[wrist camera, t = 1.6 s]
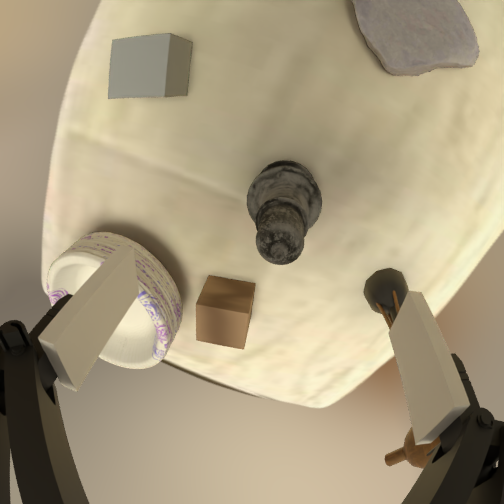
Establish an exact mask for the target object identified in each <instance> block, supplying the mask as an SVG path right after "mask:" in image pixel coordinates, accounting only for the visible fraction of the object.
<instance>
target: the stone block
mask: <svg viewBox="0 0 504 504" xmlns="http://www.w3.org/2000/svg"><path fill="white" fill-rule="evenodd" d="M352 3H353V5H354V8H355V13H356V18H357V21H358V24H359V28H360V30H361V32H362V34H363V35H364V37H365V40H366V42H367V45H368V47H369V48H370V49H371V50H372V51H373V53H374V54H375V55H376V56H377V57H378V59H379V60H380V62H381V64H382V65H383V67H384V68H385V70H386V71H387V72H389V73H391V74H392V75H397V76H402V75H408V76H419V75H420V74H423V73H425V72H430V71H431V70H434V69H436V68H446V67H453V68H455V67H458V68H465V67H472V66H473V65H474V64H475V61H476V60H477V58H478V56H479V46H478V43H477V37H476V34H475V32H474V29H473V27H472V25H471V23H470V21H469V18H468V17H467V15H466V13H465V11H464V9H463V8H462V6H461V5H460V4H459V2H458V1H457V0H352Z"/></svg>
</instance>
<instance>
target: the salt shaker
mask: <svg viewBox="0 0 504 504" xmlns="http://www.w3.org/2000/svg"><path fill="white" fill-rule="evenodd" d="M247 207H248V211H249V214H250V216H251V218H252V220H253V221H254V222H255V225H256V229H257V231H258V232H257V235H256V245H257V249H258V251H259V253H260V255H261V256H262V257H263V258H264V259H265V260H267V261H268V262H270V263H273V264H277V265H285V264H289V263H292V262H293V261H295V260H296V259H297V258H298V257H299V256H300V255H301V252H302V250H303V248H304V237H305V236H306V234H307V231H308V229H309V228H311V227H312V226H313V225H314V223H315V222H316V221H317V219H318V217H319V215H320V213H321V207H322V198H321V192H320V190H319V188H318V186H317V184H316V182H315V181H314V179H313V177H312V175H311V174H310V172H309V171H308V170H307V169H306V168H305V167H303V166H302V165H300V164H298V163H296V162H293V161H278V162H275V163H272V164H270V165H268V166H267V167H266V168H265V169H264V170H263V171H262V172H261V174H260V175H259V176H258V177H256V178H255V180H254V181H253V183H252V184H251V186H250V188H249V191H248V194H247Z"/></svg>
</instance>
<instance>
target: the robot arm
mask: <svg viewBox="0 0 504 504" xmlns="http://www.w3.org/2000/svg"><path fill="white" fill-rule="evenodd" d="M138 295H139V288H138V280H137V272H136V262H135V252H134V247H128V246H123V245H120V246H119V247H118V248H117V249H116V250H115V251H114V252H113V253H112V254H111V255H110V256H109V257H108V258H107V259H106V260H105V261H104V263H103V264H102V265H101V266H100V267H99V268H98V269H97V270H96V271H95V272H94V273H93V274H92V275H91V276H90V277H89V279H88V280H87V281H86V282H85V283H84V284H83V285H82V286H81V287H80V288H79V290H78V291H77V292H76V293H75V294H74V295H71V294H67V295H65V296H64V297H62V298H60V299H59V300H58V301H57V302H56V303H55V304H54V305H53V306H52V309H50V310H49V311H48V312H47V314H46V315H45V316H44V317H43V318H42V319H41V320H40V322H39V323H38V324H37V325H36V326H35V327H34V328H33V330H32V331H31V332H30V333H29V334H28V332H27V330H26V328H25V325H24V324H23V323H22V322H21V321H18V320H11V321H8V322H6V323H4V324H3V325H2V326H0V504H10V448H11V454H12V460H13V465H14V470H15V475H16V479H17V484H18V488H19V492H20V495H21V499H22V503H23V504H89V502H88V499H87V497H86V494H85V492H84V489H83V486H82V484H81V481H80V478H79V475H78V472H77V469H76V466H75V463H74V460H73V457H72V454H71V450H70V447H69V443H68V440H67V436H66V432H65V428H64V424H63V420H62V415H61V411H60V406H59V401H58V396H57V391H56V387H55V384H54V381H55V380H56V378H57V377H58V379H59V381H60V382H61V384H62V386H65V387H67V388H69V389H71V390H74V391H76V392H78V390H79V388H80V386H81V385H82V383H83V381H84V380H85V378H86V376H87V375H88V373H89V371H90V370H91V368H92V366H93V365H94V363H95V361H96V360H97V358H98V356H99V355H100V353H101V352H102V350H103V348H104V347H105V345H106V344H107V342H108V340H109V339H110V337H111V336H112V334H113V333H114V331H115V330H116V328H117V326H118V325H119V323H120V322H121V320H122V319H123V317H124V316H125V314H126V313H127V311H128V310H129V308H130V307H131V305H132V304H133V302H134V301H135V299H136V298H137V296H138ZM389 337H390V340H391V343H392V347H393V350H394V354H395V357H396V361H397V365H398V368H399V372H400V376H401V380H402V384H403V388H404V392H405V396H406V400H407V405H408V410H409V414H410V419H411V424H412V429H413V434H414V439H415V445H419V444H428V443H431V442H433V441H434V440H435V439H436V438H437V437H438V436H439V438H440V443H439V444H438V445H436V446H435V447H434V448H433V449H432V450H431V451H429V452H428V453H427V456H429V455H430V454H431V453H432V455H431V457H430V459H429V461H428V462H427V464H426V466H425V468H424V470H423V471H422V473H421V474H420V476H419V478H418V480H417V481H416V483H415V484H414V486H413V487H412V489H411V491H410V492H409V493H408V495H407V496H406V498H405V499H404V501H403V502H402V504H504V422H502V421H497V420H494V417H493V415H492V414H491V412H489V411H488V410H487V409H485V408H480V406H479V403H478V401H477V398H476V395H475V392H474V390H473V387H472V385H471V382H470V381H469V377H468V375H467V373H466V370H465V367H464V365H463V363H462V361H461V360H460V359H459V358H458V357H457V355H456V354H450V351H449V349H448V347H447V345H446V342H445V340H444V338H443V336H442V333H441V331H440V329H439V327H438V325H437V323H436V321H435V318H434V316H433V314H432V312H431V310H430V308H429V306H428V304H427V302H426V300H425V298H424V296H423V294H422V292H414V291H408V293H407V295H406V298H405V300H404V302H403V304H402V306H401V308H400V311H399V313H398V315H397V317H396V319H395V321H394V323H393V325H392V327H391V329H390V331H389ZM498 460H499V461H498ZM497 461H498V467H496V462H497Z"/></svg>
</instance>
